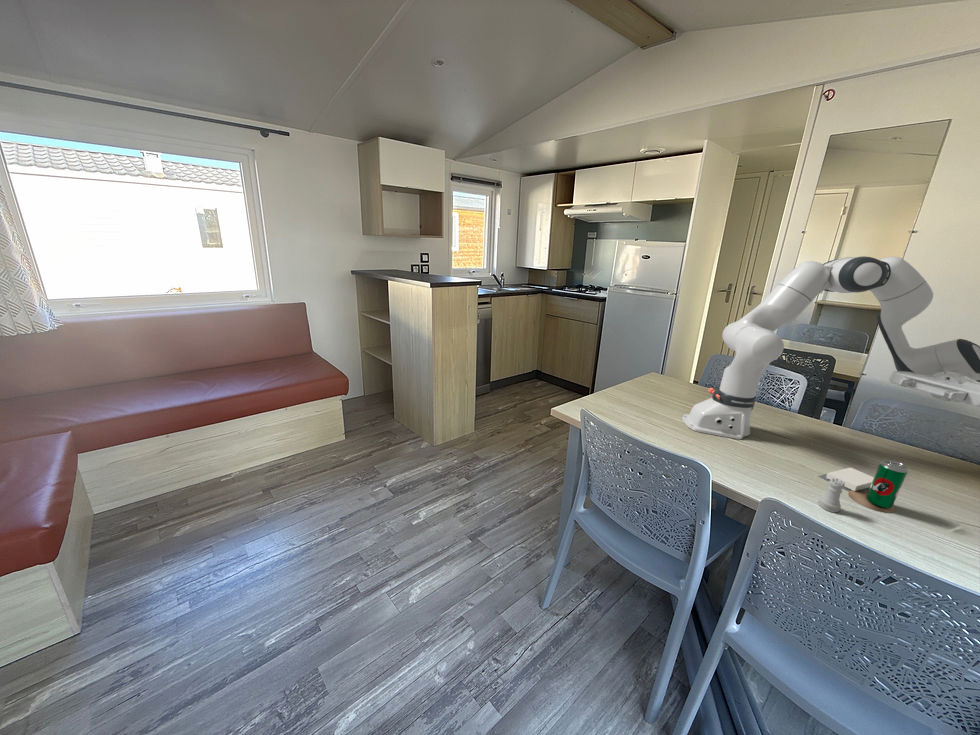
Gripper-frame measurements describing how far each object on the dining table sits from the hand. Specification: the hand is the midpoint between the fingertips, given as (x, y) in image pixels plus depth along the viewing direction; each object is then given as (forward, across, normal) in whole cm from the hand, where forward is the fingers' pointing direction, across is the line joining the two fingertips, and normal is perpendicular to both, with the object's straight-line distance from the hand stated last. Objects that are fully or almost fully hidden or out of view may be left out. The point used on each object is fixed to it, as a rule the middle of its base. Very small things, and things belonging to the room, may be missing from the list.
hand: (924, 389), depth 108 cm
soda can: (+24, +9, +27) cm, 37 cm away
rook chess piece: (+38, +6, +28) cm, 48 cm away
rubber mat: (+17, 0, +28) cm, 33 cm away
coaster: (+24, +8, +28) cm, 38 cm away
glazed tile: (+13, 0, +26) cm, 29 cm away
